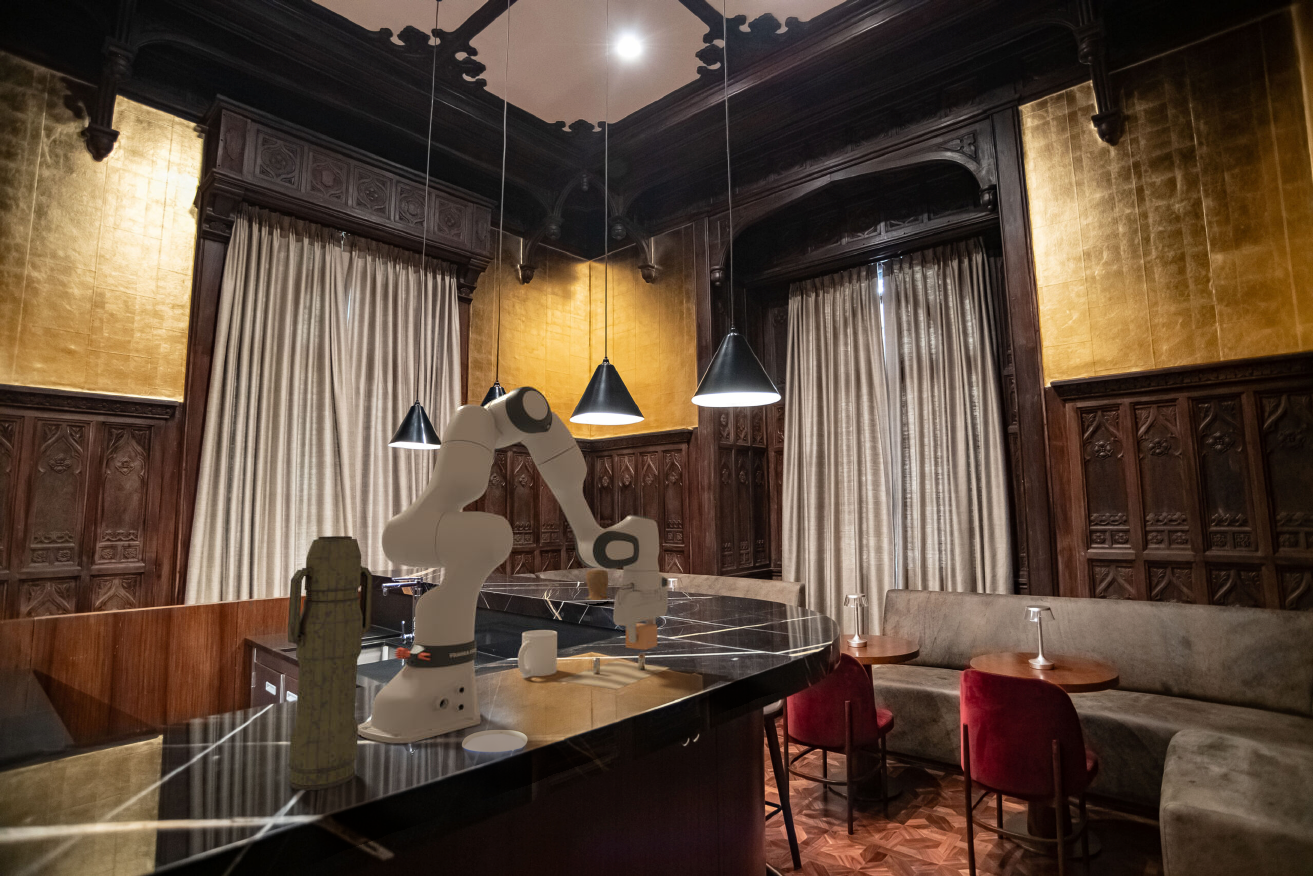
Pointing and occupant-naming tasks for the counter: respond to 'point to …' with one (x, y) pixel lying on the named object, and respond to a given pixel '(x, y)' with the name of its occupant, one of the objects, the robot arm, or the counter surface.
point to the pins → (597, 663)
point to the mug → (538, 653)
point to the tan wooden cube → (643, 637)
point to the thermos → (327, 661)
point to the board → (613, 675)
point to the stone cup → (597, 584)
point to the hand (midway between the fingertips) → (641, 639)
